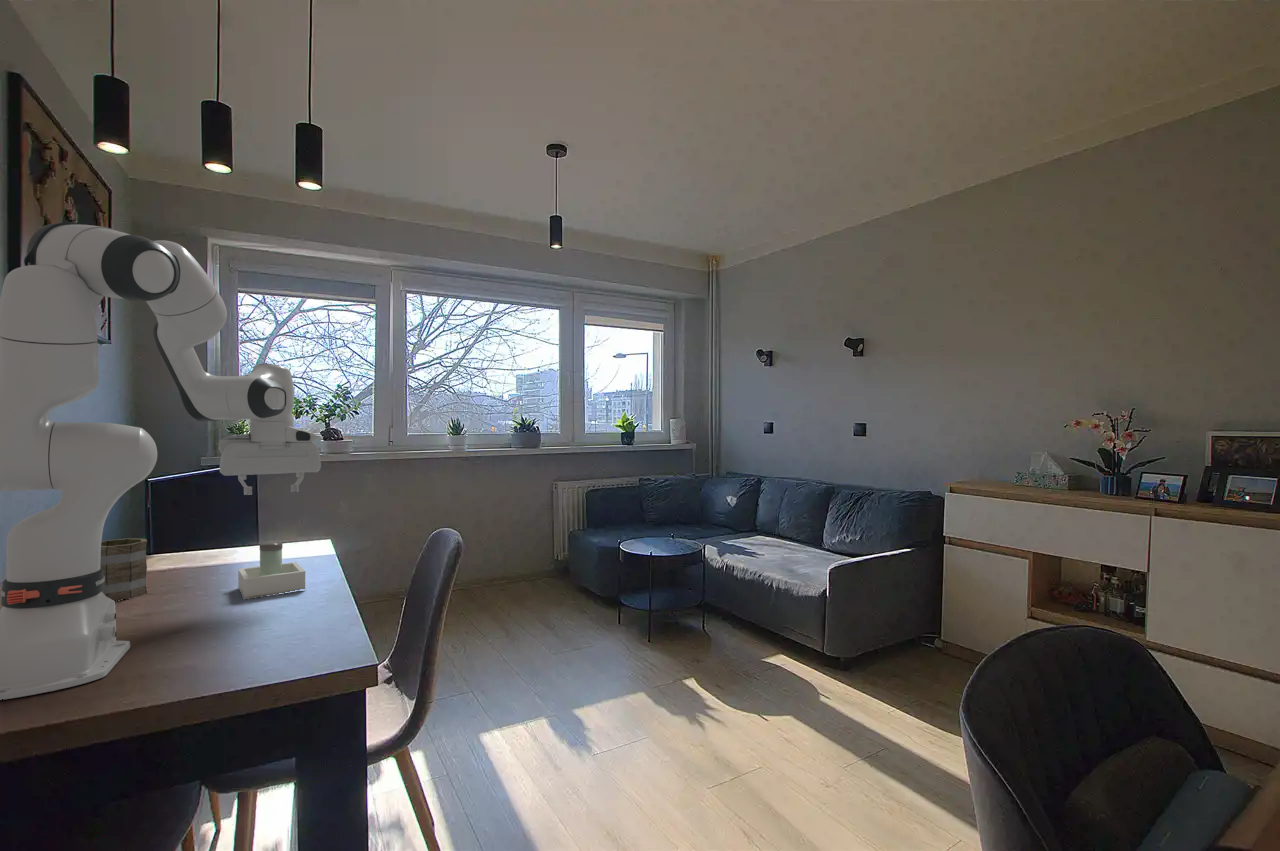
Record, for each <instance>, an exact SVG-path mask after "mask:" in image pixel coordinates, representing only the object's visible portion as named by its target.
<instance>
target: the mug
mask: <svg viewBox="0 0 1280 851" xmlns="http://www.w3.org/2000/svg"><path fill="white" fill-rule="evenodd" d="M147 546H148V540H147V538H133V537H131V538H118V539H108V540H107V539H106V540H102V542H101V556H100V568H102V569H103V570H104V577H105V581H104V589H103V591H102V592H103V594H104V595H105V596H107V597H108V598H110V599H112V600H114V601H115V600H121V599H128V600H130V599H129V598H133V599H135V598H134V597H136V598H138V597H137V596H139V597H142V596H144V594H145V595H147V594H148V592H147V572H148V570H147V569H148V566H147V563H148V562H147ZM141 595H142V596H141ZM121 601H122V600H121ZM115 602H116V601H115Z"/></svg>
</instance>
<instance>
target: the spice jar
mask: <svg viewBox="0 0 1280 851" xmlns="http://www.w3.org/2000/svg"><path fill="white" fill-rule="evenodd" d="M283 546H284V545H283V542H281V541H266V542H262V543H259V566H260V576H265V575H273V574H281V573H282V564H283V548H284V547H283Z"/></svg>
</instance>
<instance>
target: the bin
mask: <svg viewBox="0 0 1280 851" xmlns="http://www.w3.org/2000/svg"><path fill="white" fill-rule="evenodd" d="M237 575H238V580H237V581H238V582H237V586H238V587H237V588H239V589H238V591H239V590H240V591H239V593H240V592H241V593H240V595H241V594H242V595H241V597H242V596H243V597H242V599H243V598H244V599H248V600H251V599H250V598H255V597H261V596H267V595H273V594H279V593H285V592H290V591H295V590H300V589H305V590H306V570H305V569H304V568H303V567H302V566H301V565H300V564H299V563H298V562H297V561H292V562H285V563H284V562H282V573H281V574H273V575H265V576H260V565H259V566H252V567H251V566H250V567H243V568H241V567H240V568H238V573H237ZM261 598H262V597H261ZM244 599H243V600H244ZM255 599H256V598H255Z"/></svg>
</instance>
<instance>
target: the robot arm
mask: <svg viewBox="0 0 1280 851" xmlns="http://www.w3.org/2000/svg"><path fill="white" fill-rule="evenodd" d="M23 265H24V266H23ZM23 265H22V266H20V267H16V268H14V269H12V270H11V271H10V272H8V273H7V274H6V276H5V278H4V280H3V284H2V288H1V294H0V492H21V491H41V490H42V491H45V490H47V491H48V490H50V491H51V490H55V491H60V492H61V495H60V500H59V501H58V502H57V504H55V505H53V506H51V507H49V508H46V509H44V510H41V511H38V512H36V513H33V514H32V515H30V516H27V517H25V518H23V519H22V520H20V521H18V522H17V523H16V524H14V525H13V526H12V527H11V528H10V530H9V531H8V533H7V535H6V557H5V558H6V560H5V561H6V562H5V563H6V568H5V571H6V575H5V576H6V578H5V579H4V580H3V581H2V586H1V589H0V596H1V599H0V605H1V606H2V607H1V608H0V701H3V700H4V701H5V700H9V699H10V700H11V699H17V698H22V697H27V696H34V695H38V694H39V695H40V694H43V693H48V692H55V691H59V690H62V689H67V688H72V687H75V686H76V687H77V686H80V685H83V684H87V683H90V682H93V681H97V680H99V679H102V678H104V677H105V676H107V675H108V674H109V673H110V671H111V670H112V669H113V668H114V667H115V666H116V665H117V664H118V663H119V661H120V660H121V659H122V657H123V656H125V655H126V653H127V652H128V651H129V650H130V649H131V642H130V641H129V640H117V623H116V621H117V620H116V619H117V612H116V601H114V600H112V599H110V598H108V597H107V596H105V595H104V594H103V592H102V591H103V589H104V581H105V577H104V570H103V569H102V568H100V556H101V542H102V541H103V540H102V539H103V533H104V526H105V523H106V519H107V518H108V515H109V513H110V511H111V510H112V509H113V507H114V505H115V504H116V502H117V501H118V500H119V499H120V498H121V497H122V496H123V495H124V494H126V492H128V491H129V490H130V489H131V488H133V487H134V486H135V485H137V484H139V483H140V482H142V481H144V480H145V479H146V478H147V477H149V475H150V474H151V473H152V471H153V470H154V468H155V466H156V465H157V464H156V463H157V461H158V449H157V445H156V442H155V440H154V439H153V437H152V435H150V433H148V432H147V431H146V430H145V429H144V428H143V427H140V426H139V427H138V426H131V425H127V424H119V423H113V422H68V421H67V422H63V421H62V422H58V421H52V420H50V419H49V416H50V415H49V413H50V411H52V410H54V409H56V408H58V407H61V406H64V405H67V404H71V403H73V402H75V401H78V400H81V399H83V398H85V397H87V396H89V395H90V394H92V393H93V392H94V391H95V390H96V388H97V386H98V384H99V381H100V379H99V378H100V377H99V347H98V346H99V345H98V344H99V343H98V328H97V321H96V313H97V310H98V307H99V305H100V303H101V301H102V300H103V299H104V297H106V298H113V299H121V300H123V299H124V300H127V301H131V302H132V301H133V302H146V304H147V305H148V307H149V308H150V309H151V311H152V313H153V314H154V316H155V317H156V323H155V324H154V326H153V338H154V341H155V344H156V347H157V349H158V352H160V356H161V357H162V359H163V361H164V363H165V365H166V368H167V370H168V371H169V373H170V375H171V377H172V380H173V382H174V383H175V385H176V388H177V390H178V392H179V396H180V401H181V404H182V406H183V408H184V410H185V411H186V413H187V414H189V415H190V417H192V418H193V419H194V420H196V421H198V422H204V423H206V422H214V421H215V422H216V421H244V420H248V421H249V434H245V433H244V434H227V435H226V436H223V437H220V438H219V441H218V443H217V444H218V447H217V450H218V452H219V453H220V454H221V456H220V460H219V473H220V474H221V475H223V476H237V480H238V482H239V483H240V484H241V486H242V488H243V495H244V496H250V495H251V496H252V495H253V486H248V485H247V484H246V482H245V480H247V476H248V475H249V476H253V475H255V476H256V475H274V474H275V475H276V474H280V475H281V474H296V475H295V477H296V478H297V479H296V481H295V483H294V484H290V493H299V492H300V484H301V483H302V481H303V480H304V478H305V473H307V474H308V473H318V472H319V471H320V470H321V468H322V462H321V460H322V459H321V453H320V449H319V445H318V444H316V442H315V440H316V434H315V433H313V432H311V431H308V430H305V429H303V428H296V427H295V421H294V417H293V408H294V405H295V389H294V382H293V375H292V373H291V371H290V369H289V368H287V367H285V366H283V365H279V364H278V365H277V364H274V363H273V364H271V363H260V364H256V365H254V367H253V369H252V371H251V372H250V373H247V374H244V375H237V376H235V375H234V376H230V375H229V376H224V375H223V376H221V375H220V376H219V375H214V374H211V373H208V372H207V371H205V370H204V367H203V366H202V362H201V361H200V359H199V356H198V354H197V353H196V350H195V348H194V347H195V346H198V345H201V344H205V343H206V342H208V341H209V340H211V339H213V338H214V337H215V336H216V335H218V334H219V332H221V330H222V329H223V328H224V326H225V324H226V321H227V319H228V318H227V317H228V312H227V310H228V309H227V307H226V303H225V302H224V300H223V297H222V296H221V294H220V293H219V291H218V289H217V288H216V286H215V285H214V283H213V281H212V280H211V278H210V277H209V275H208V274H207V272H206V271H205V270H204V268H203V267H202V266H201V264H200V263H199V262H198V261H197V260H196V258H195V257H194V256H193V255H192V254H191V253H190V252H189V251H188V250H187V249H186V248H185V247H184V246H182V245H181V244H179V243H178V242H174V241H171V240H151V239H150V238H147V237H145V236H143V235H137V234H130V233H126V232H123V231H119V230H115V229H113V228H110V227H105V226H99V225H89V224H80V223H77V222H68V221H67V222H66V221H65V222H54V223H49V224H46V225H42V226H41V227H39V228H38V229H36V231H35V232H34V233H33V234H32V235H31V237H30V239H29V241H28V243H27V248H26V255H25V256H24V258H23ZM2 699H3V700H2Z"/></svg>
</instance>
